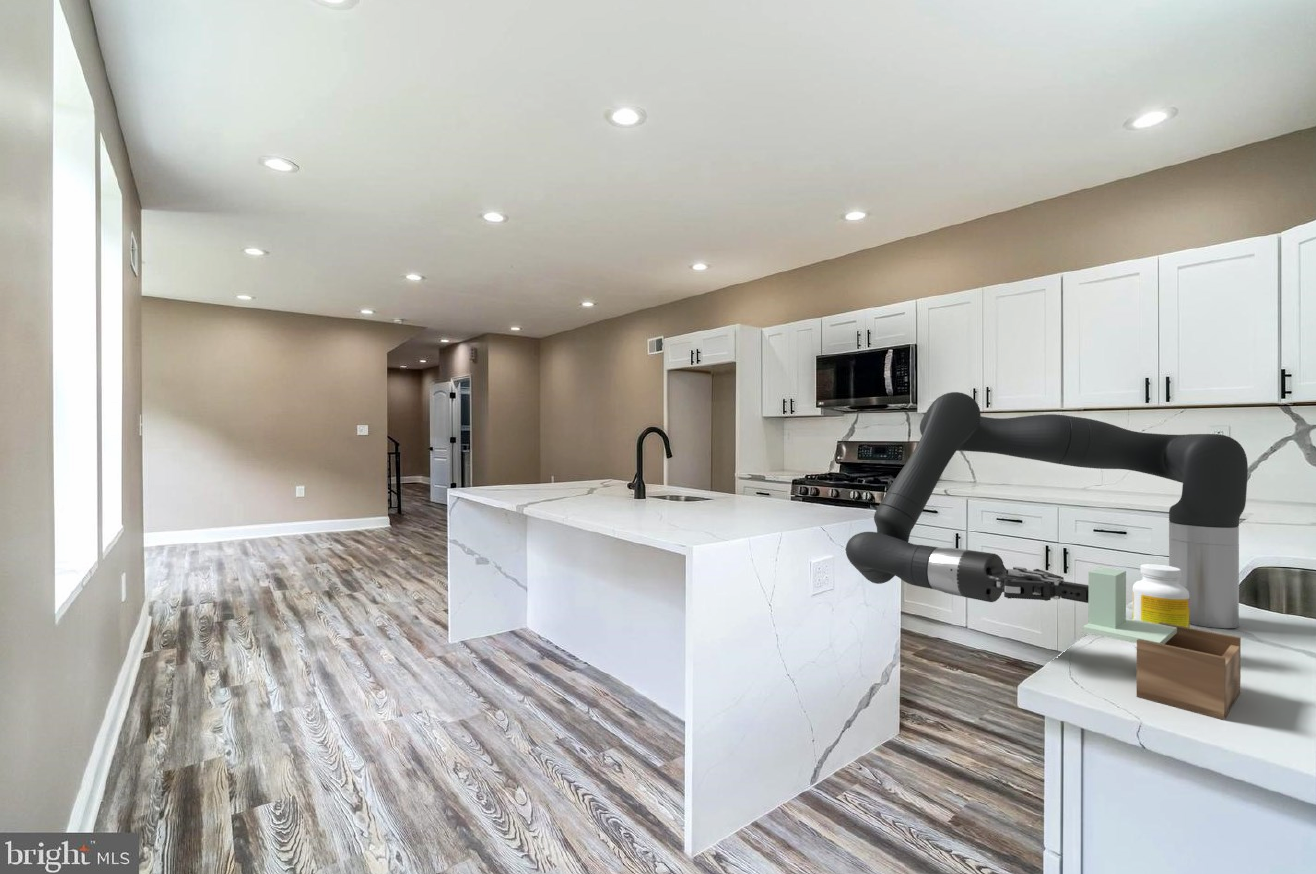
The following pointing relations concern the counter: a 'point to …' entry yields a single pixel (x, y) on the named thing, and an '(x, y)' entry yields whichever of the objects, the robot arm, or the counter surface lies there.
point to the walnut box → (1191, 671)
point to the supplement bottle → (1160, 596)
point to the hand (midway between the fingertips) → (1093, 594)
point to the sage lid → (1118, 611)
